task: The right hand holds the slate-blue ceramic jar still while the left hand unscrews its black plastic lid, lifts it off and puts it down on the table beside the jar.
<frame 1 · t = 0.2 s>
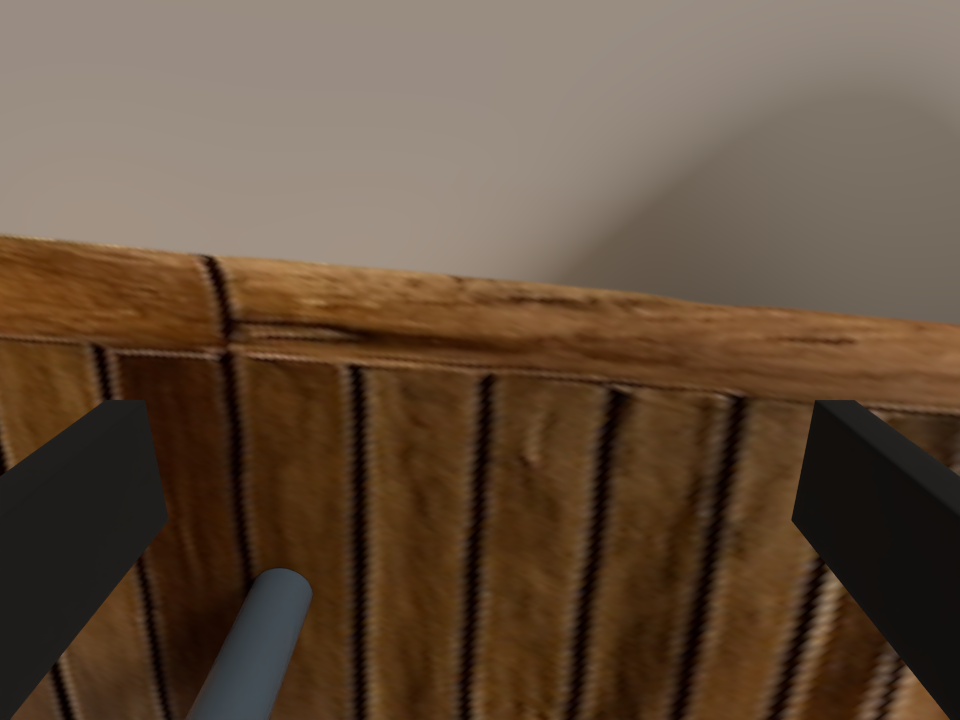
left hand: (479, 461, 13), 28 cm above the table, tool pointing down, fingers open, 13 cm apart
jar: (282, 592, 48), on the table
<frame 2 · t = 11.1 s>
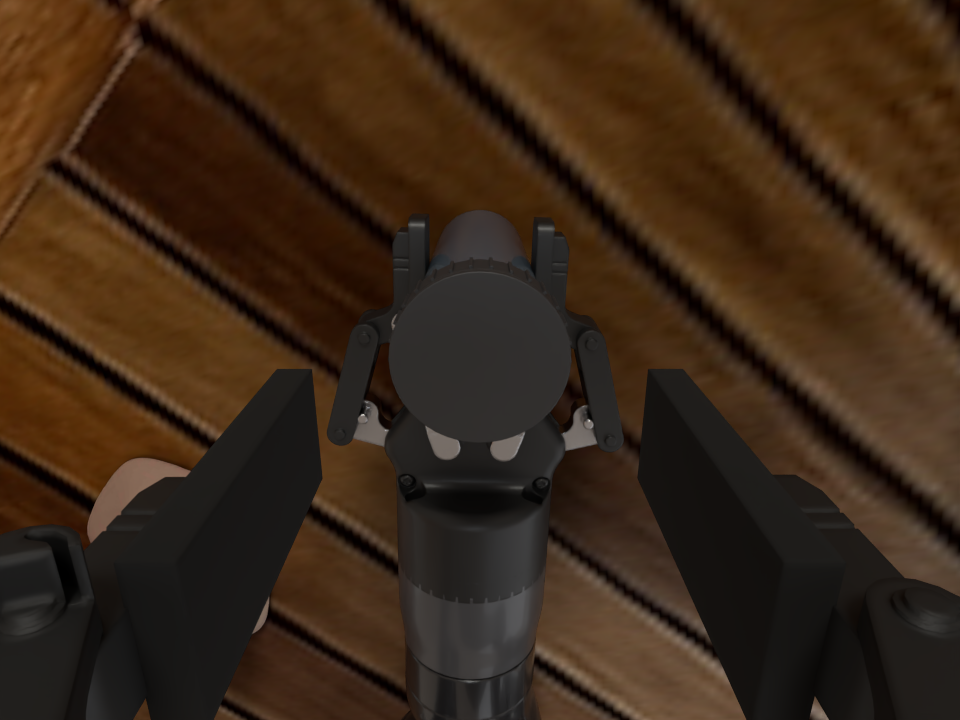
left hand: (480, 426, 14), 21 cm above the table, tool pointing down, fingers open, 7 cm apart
right hand: (480, 219, 26), fingers closed on jar, 4 cm apart
lid: (479, 357, 18), point 16 cm above the table, screwed on, not yet turned
jar: (479, 253, 34), on the table, touching right hand
anatomical model: (183, 552, 40), on the table
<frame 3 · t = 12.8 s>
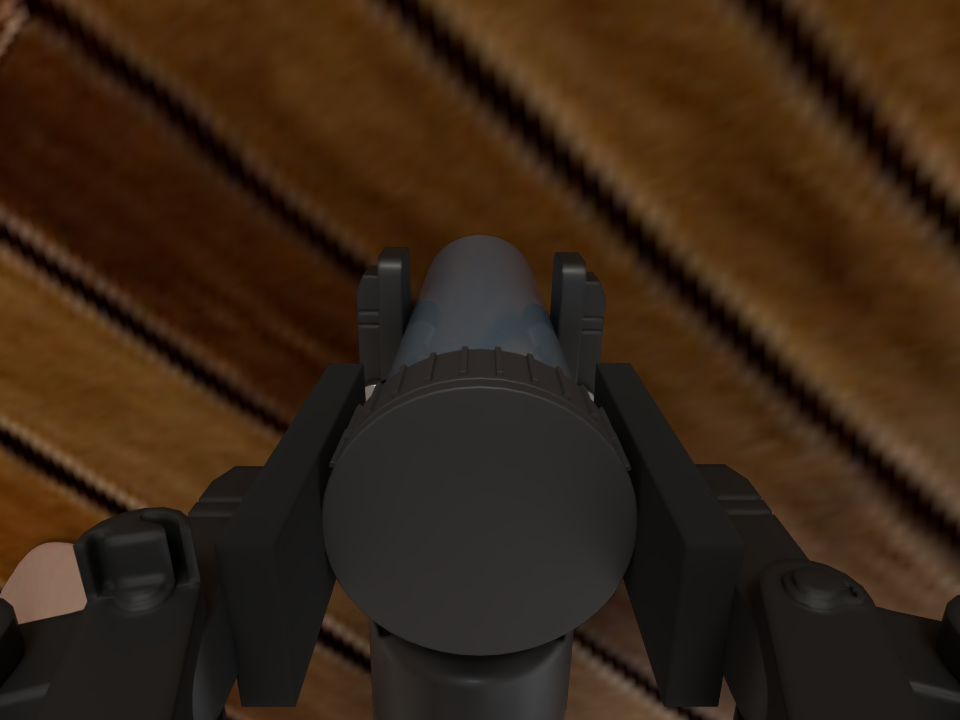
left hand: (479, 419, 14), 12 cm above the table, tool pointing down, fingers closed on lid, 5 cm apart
lid: (479, 520, 11), point 16 cm above the table, screwed on, not yet turned, touching left hand
jar: (479, 290, 26), on the table, touching right hand
anatomical model: (114, 651, 32), on the table
when the left hand's fingers open (12 cm above the table, at t = 14.0 s): lid stays where it is, point 16 cm above the table.
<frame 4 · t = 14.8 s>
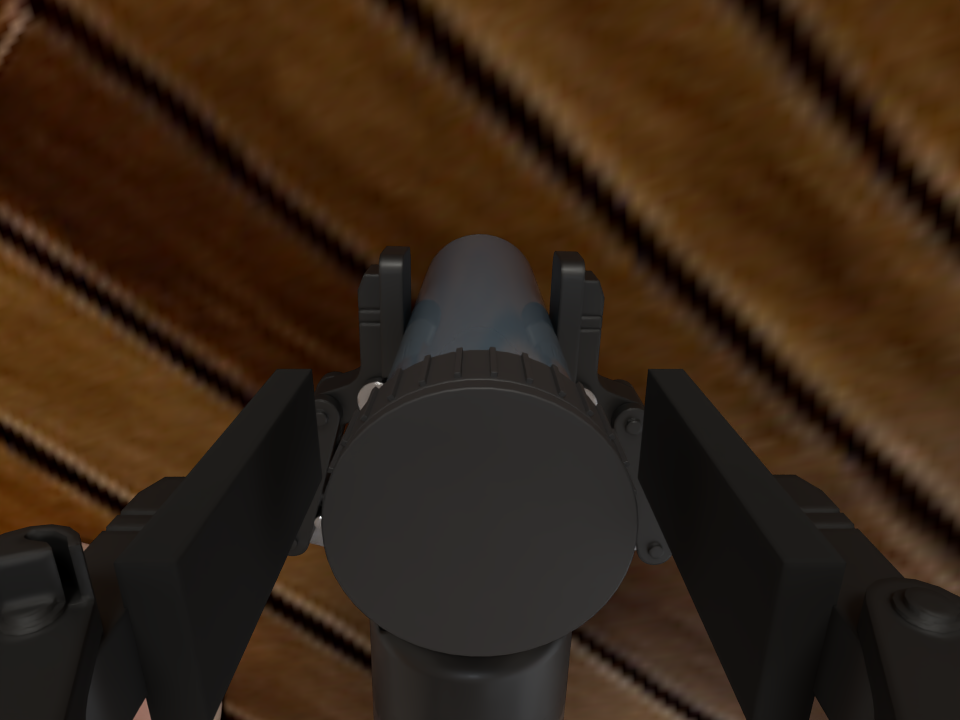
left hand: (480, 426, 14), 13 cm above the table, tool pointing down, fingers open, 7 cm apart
lid: (479, 521, 11), point 16 cm above the table, turned 64° so far, risen 0.2 cm, still on its thread
jar: (479, 289, 26), on the table, touching right hand
anatomical model: (115, 648, 33), on the table
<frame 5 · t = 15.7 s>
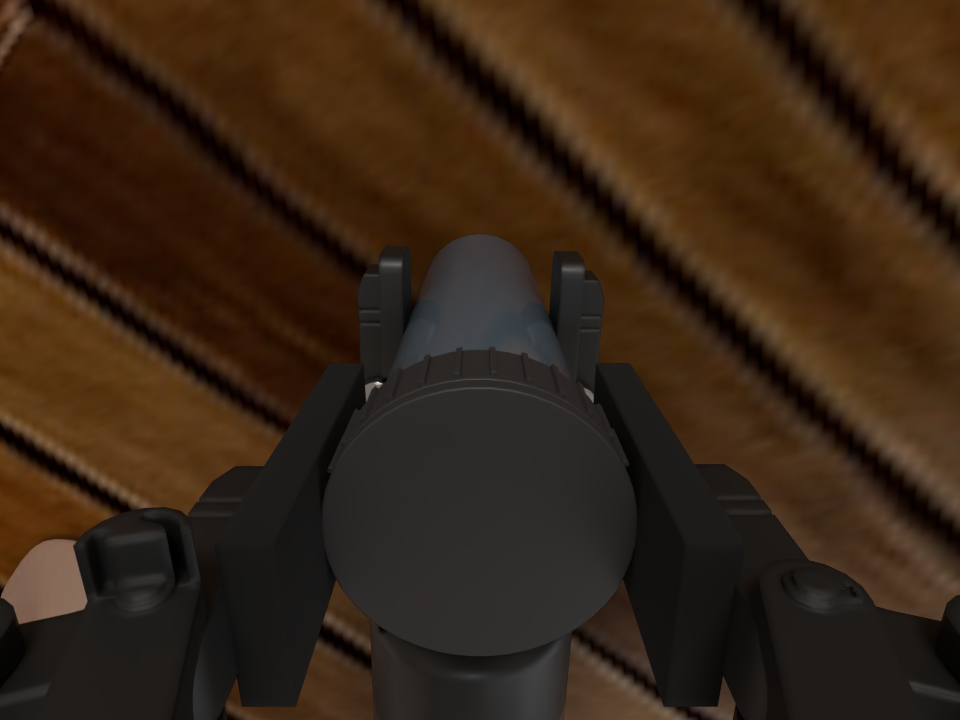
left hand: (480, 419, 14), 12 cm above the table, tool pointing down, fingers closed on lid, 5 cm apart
lid: (479, 521, 11), point 16 cm above the table, turned 64° so far, risen 0.2 cm, still on its thread, touching left hand
jar: (479, 289, 26), on the table, touching right hand
anatomical model: (115, 648, 33), on the table
when the left hand's fingers open (0 cm above the table, at t = 22.6 s): lid drops 3 cm, point 1 cm above the table.
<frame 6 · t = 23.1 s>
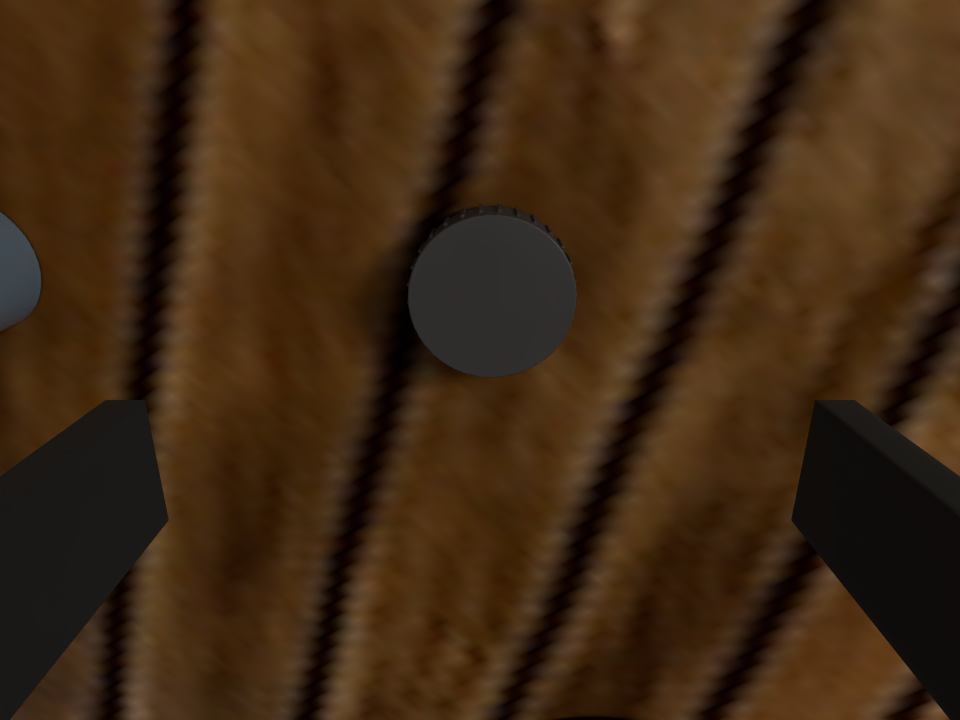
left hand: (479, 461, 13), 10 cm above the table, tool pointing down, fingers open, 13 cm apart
lid: (492, 297, 20), point 1 cm above the table, off its thread
when the right hand's fingers open (7 cm above the table, at t = 23.2 s): jar stays where it is, on the table.
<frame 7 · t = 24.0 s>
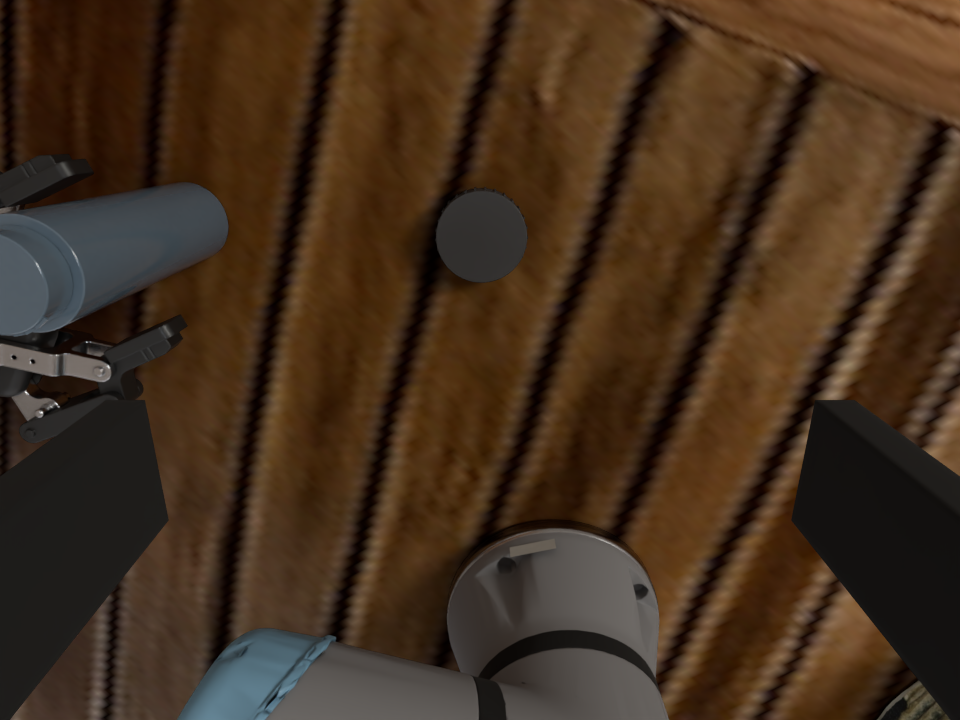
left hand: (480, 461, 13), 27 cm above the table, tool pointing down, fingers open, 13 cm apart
lid: (481, 236, 36), point 1 cm above the table, off its thread
jar: (189, 222, 37), on the table
fossil: (952, 691, 50), on the table
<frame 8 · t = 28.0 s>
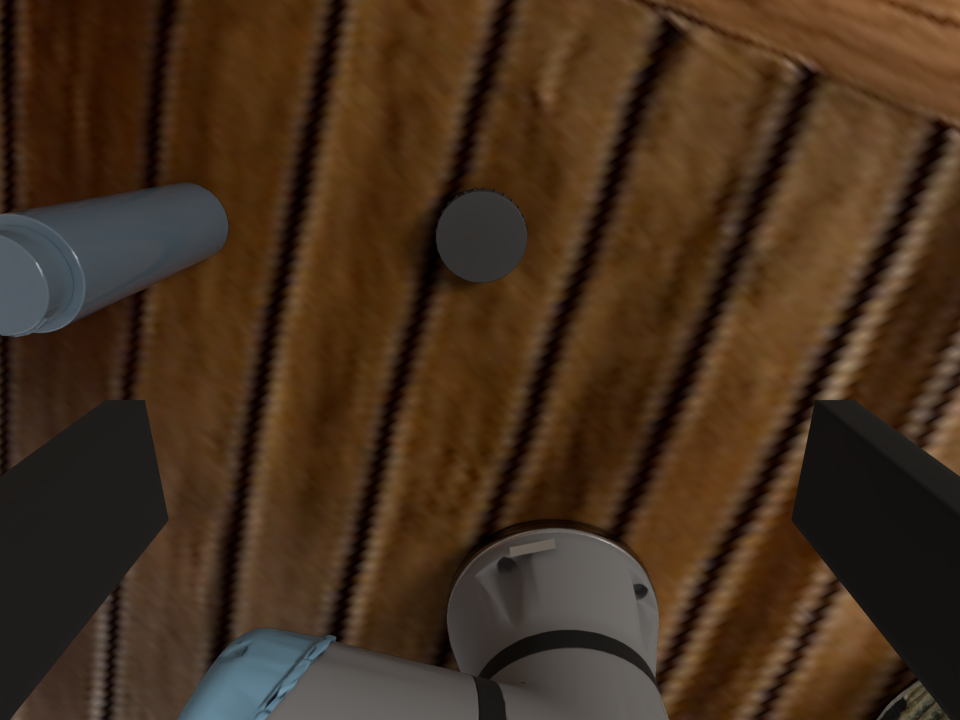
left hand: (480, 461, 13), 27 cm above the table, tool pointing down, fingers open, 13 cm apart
lid: (481, 237, 36), point 1 cm above the table, off its thread
jar: (189, 222, 38), on the table
fossil: (951, 691, 50), on the table
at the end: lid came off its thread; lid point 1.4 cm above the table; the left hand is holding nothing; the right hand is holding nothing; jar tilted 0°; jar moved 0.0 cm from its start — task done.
